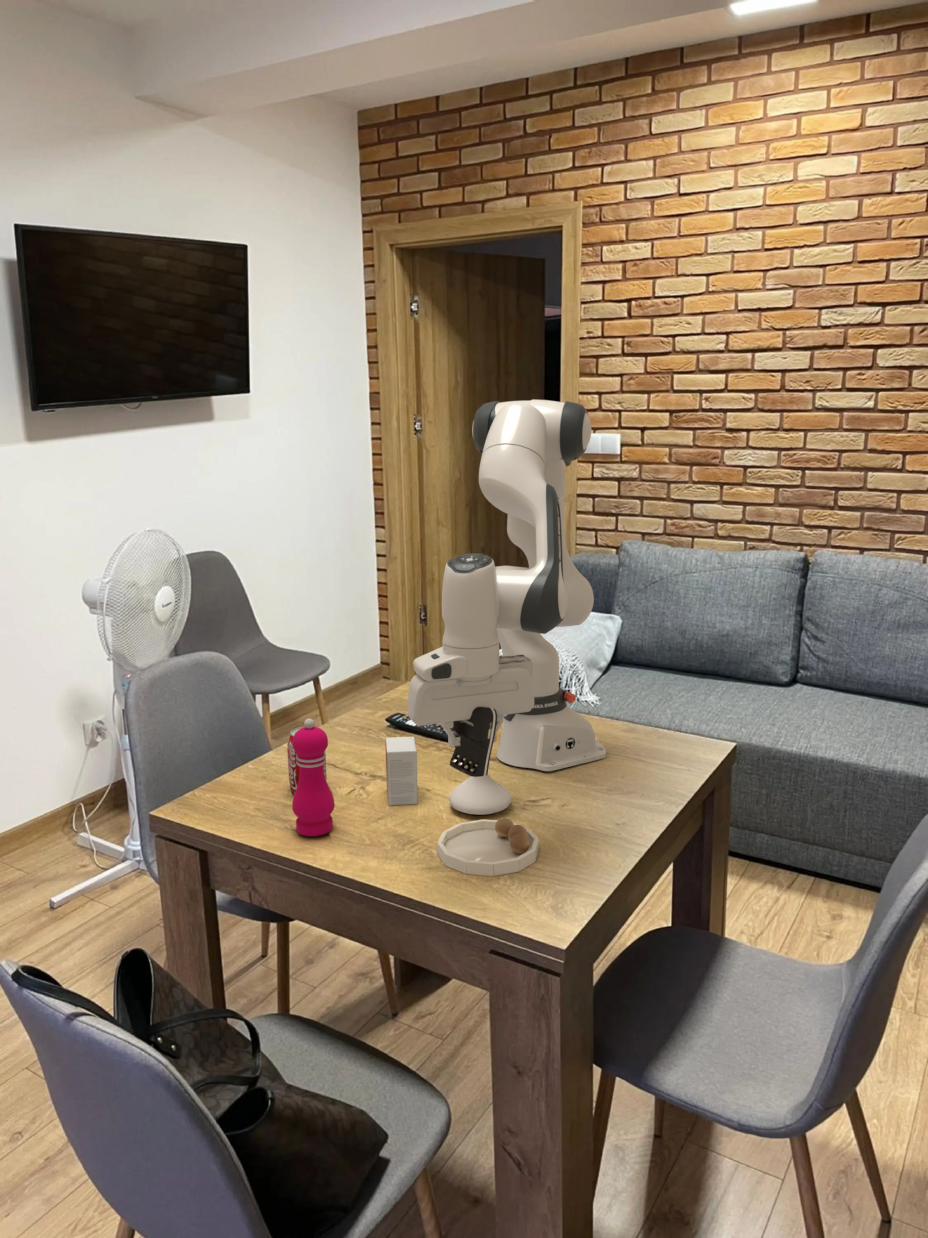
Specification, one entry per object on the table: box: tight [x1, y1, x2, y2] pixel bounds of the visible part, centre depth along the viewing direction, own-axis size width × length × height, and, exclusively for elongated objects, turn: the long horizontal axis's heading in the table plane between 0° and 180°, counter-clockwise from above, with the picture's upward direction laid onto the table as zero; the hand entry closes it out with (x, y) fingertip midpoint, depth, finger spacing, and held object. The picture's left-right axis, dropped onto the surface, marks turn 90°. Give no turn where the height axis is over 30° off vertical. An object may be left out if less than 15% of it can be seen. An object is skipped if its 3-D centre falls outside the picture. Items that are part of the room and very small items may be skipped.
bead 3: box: [510, 834, 530, 854], centre depth 155 cm, size 3×3×3 cm
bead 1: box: [495, 817, 514, 837], centre depth 161 cm, size 3×3×3 cm
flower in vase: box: [448, 773, 513, 816], centre depth 173 cm, size 13×11×25 cm
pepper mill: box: [291, 718, 336, 837], centre depth 165 cm, size 7×7×20 cm
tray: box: [436, 818, 540, 877], centre depth 157 cm, size 16×16×2 cm
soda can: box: [286, 725, 328, 794], centre depth 182 cm, size 7×7×12 cm
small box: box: [384, 736, 419, 807], centre depth 179 cm, size 8×6×10 cm
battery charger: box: [449, 707, 497, 777], centre depth 153 cm, size 7×4×11 cm, turn 43°
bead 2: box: [508, 824, 527, 840], centre depth 159 cm, size 3×3×3 cm
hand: (472, 743), depth 153 cm, fingers closed on battery charger, 5 cm apart
